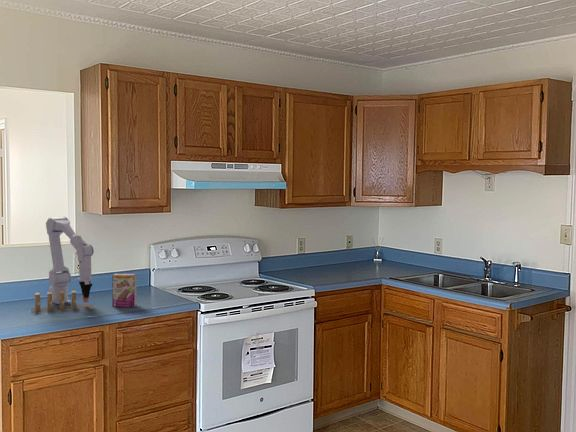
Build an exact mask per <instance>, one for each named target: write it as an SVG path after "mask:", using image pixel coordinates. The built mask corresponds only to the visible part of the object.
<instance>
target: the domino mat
mask: <svg viewBox="0 0 576 432" xmlns="http://www.w3.org/2000/svg"><path fill="white" fill-rule="evenodd" d="M85 310H95V303H86V304H84V303H83V304H76V309H72V304H70V305H64V309H61V310H60V305H54V306H53V305H52V310H48V306H40V311H35V306H34V307H31V310H30V312H29V313H30V314H38V313H40V314H41V313H50V312H51V313H54V312H56V313H57V312H66V311H70V312H71V311H85Z"/></svg>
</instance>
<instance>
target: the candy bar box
mask: <svg viewBox="0 0 576 432" xmlns="http://www.w3.org/2000/svg"><path fill="white" fill-rule="evenodd" d="M111 279H112V281H111V282H112V287H111V289H112V306H111V307H115V308H135V307H136V306H137V274H136V273H114V274H113V275H112V278H111Z"/></svg>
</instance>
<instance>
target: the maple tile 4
mask: <svg viewBox="0 0 576 432" xmlns="http://www.w3.org/2000/svg"><path fill="white" fill-rule="evenodd" d="M71 305H72V309H76V305H77V291H76V290H71Z"/></svg>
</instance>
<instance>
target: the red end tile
mask: <svg viewBox="0 0 576 432" xmlns="http://www.w3.org/2000/svg"><path fill="white" fill-rule="evenodd" d="M82 301H83V303H89V297H88V298H84V296H83V295H82Z"/></svg>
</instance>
